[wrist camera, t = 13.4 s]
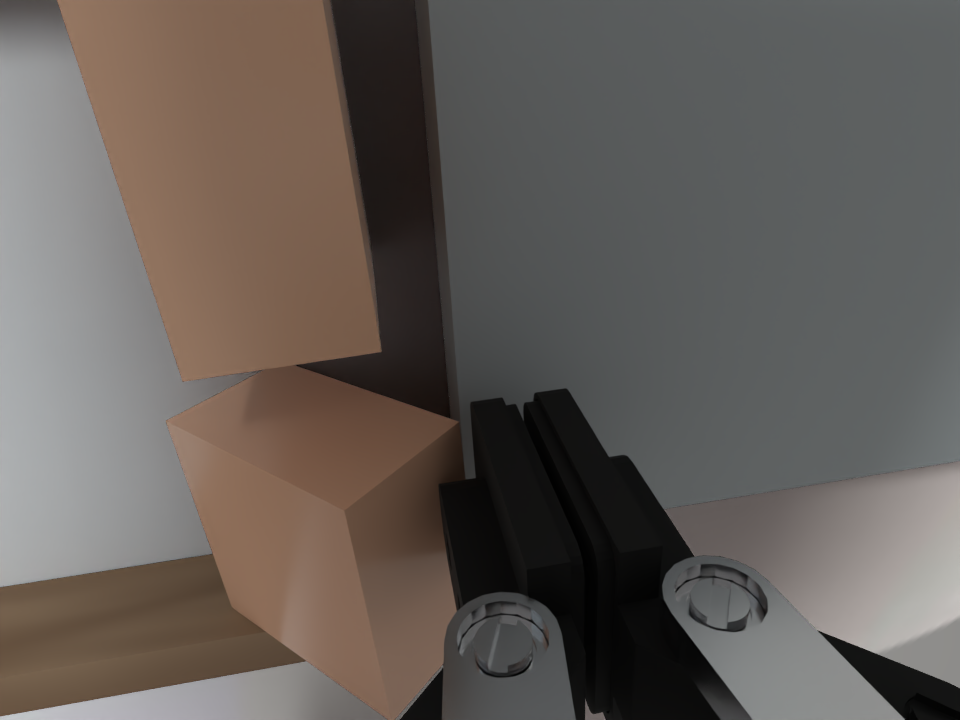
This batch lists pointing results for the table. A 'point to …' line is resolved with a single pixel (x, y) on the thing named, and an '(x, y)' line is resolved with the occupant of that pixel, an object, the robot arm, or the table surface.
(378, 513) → the tile
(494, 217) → the board
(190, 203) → the tile
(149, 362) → the table surface
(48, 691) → the tray
